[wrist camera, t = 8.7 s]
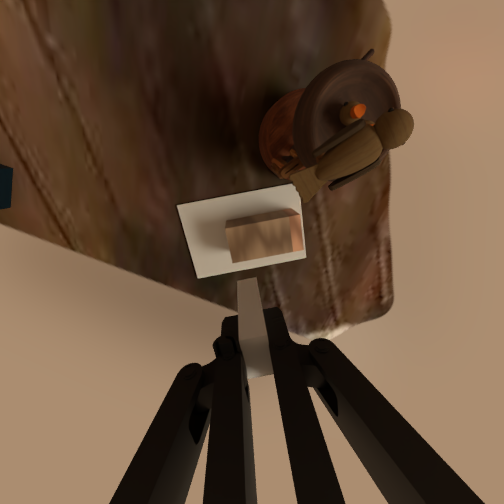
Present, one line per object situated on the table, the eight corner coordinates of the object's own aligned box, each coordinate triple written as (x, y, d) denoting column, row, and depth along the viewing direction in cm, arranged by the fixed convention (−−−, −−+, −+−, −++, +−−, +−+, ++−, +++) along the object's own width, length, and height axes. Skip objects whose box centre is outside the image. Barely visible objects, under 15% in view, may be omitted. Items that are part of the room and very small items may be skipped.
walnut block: (224, 228, 30) (300, 214, 30) (226, 220, 35) (291, 208, 35) (232, 263, 32) (303, 249, 32) (232, 251, 37) (294, 239, 37)
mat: (177, 205, 34) (176, 205, 34) (298, 182, 34) (298, 182, 34) (198, 277, 38) (197, 278, 38) (305, 257, 38) (306, 257, 38)
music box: (295, 205, 35) (365, 248, 17) (236, 158, 32) (238, 148, 14) (366, 113, 32) (558, 35, 13) (306, 52, 29) (440, -160, 10)
